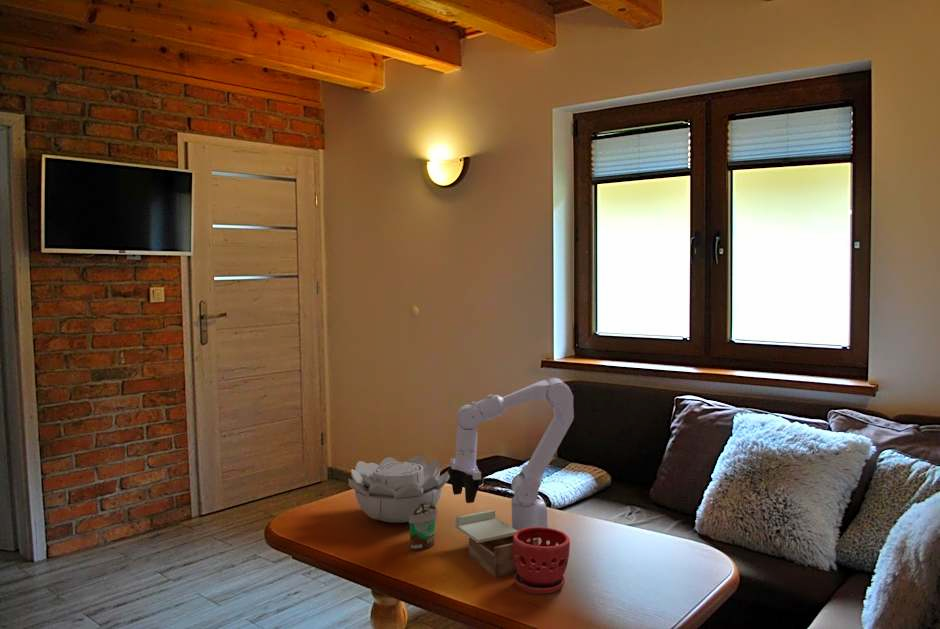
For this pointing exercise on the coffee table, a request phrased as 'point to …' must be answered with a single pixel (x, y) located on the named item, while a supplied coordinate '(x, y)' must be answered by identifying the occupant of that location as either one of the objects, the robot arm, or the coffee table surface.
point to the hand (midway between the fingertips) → (463, 498)
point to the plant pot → (540, 559)
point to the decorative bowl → (396, 487)
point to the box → (495, 555)
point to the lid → (483, 526)
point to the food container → (423, 526)
